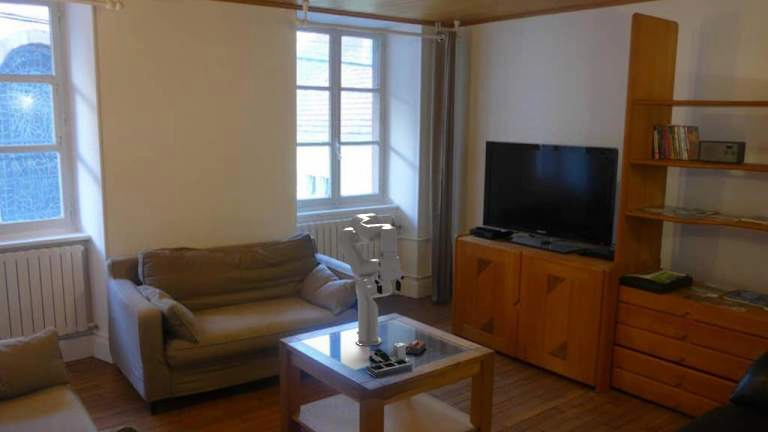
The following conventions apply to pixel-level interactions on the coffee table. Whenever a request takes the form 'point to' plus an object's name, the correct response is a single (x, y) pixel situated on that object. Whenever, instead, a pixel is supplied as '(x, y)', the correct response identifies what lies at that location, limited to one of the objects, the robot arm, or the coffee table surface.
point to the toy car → (379, 356)
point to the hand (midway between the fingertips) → (389, 292)
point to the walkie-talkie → (415, 347)
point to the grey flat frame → (389, 367)
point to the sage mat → (405, 360)
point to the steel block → (399, 351)
